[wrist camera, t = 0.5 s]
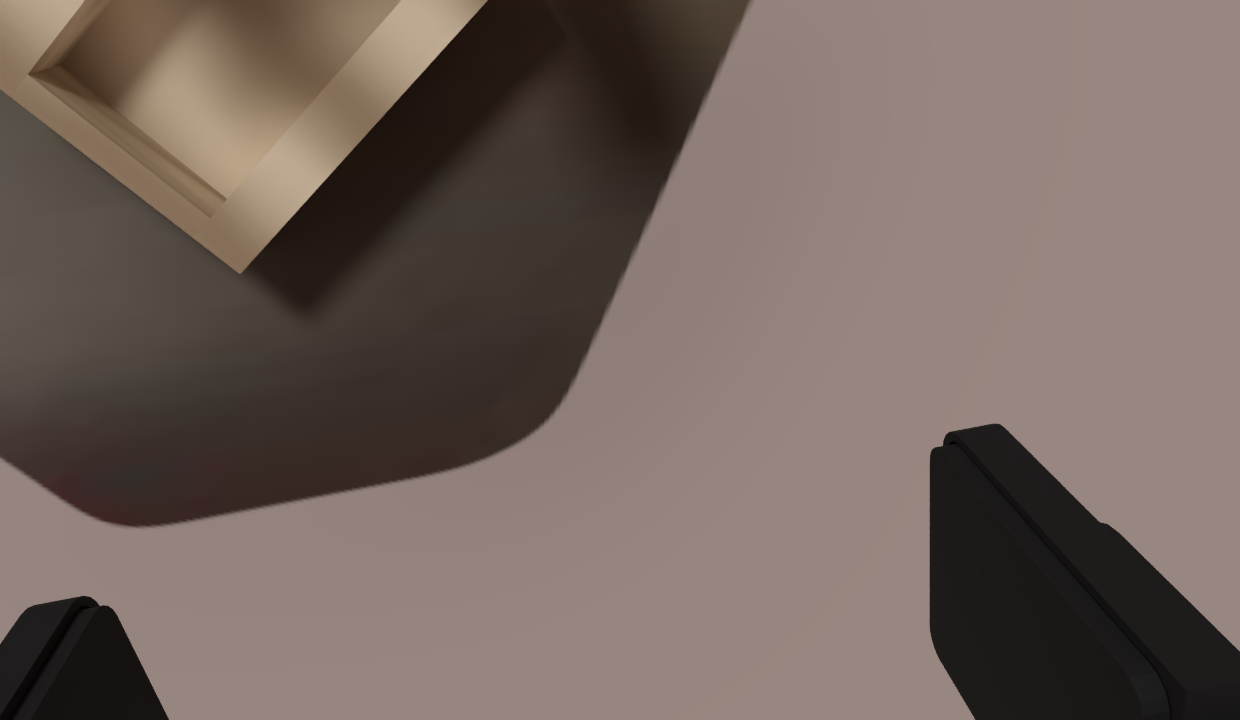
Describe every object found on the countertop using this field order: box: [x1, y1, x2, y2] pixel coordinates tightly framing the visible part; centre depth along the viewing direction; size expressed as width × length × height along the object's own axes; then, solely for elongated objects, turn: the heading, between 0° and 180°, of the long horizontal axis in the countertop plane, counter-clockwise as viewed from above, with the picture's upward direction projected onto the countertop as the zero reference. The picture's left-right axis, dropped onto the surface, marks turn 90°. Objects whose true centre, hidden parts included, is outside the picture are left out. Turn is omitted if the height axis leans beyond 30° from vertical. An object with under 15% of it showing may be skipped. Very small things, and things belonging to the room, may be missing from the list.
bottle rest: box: [0, 0, 487, 274], centre depth 32 cm, size 15×11×3 cm
